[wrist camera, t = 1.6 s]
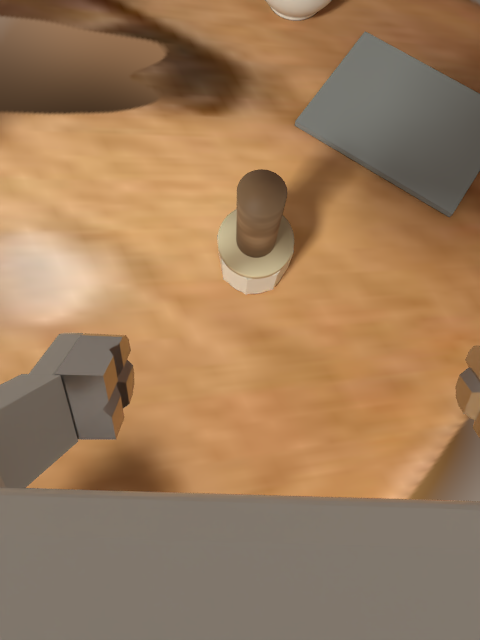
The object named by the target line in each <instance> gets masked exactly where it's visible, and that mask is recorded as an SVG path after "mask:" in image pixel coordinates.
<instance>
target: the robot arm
mask: <svg viewBox="0 0 480 640" xmlns="http://www.w3.org/2000/svg"><path fill="white" fill-rule="evenodd" d="M130 351H131V349H130V344H129V339H128V338H127V336H126V335H108V334H87V333H85V334H83V333H62V334H59V335H58V336H57V338H56V339H55V340H54V342H53V343H52V344H51V345H50V347H49V348H48V349H47V351H46V352H45V353H44V355H43V356H42V357H41V359H40V360H39V361H38V362H37V364H36V365H35V366H34V368H33V369H32V370H31V372H30V373H29V374H21V375H19V376H17V377H15V378H13V379H11V380H9V381H7V382H5V383H3V384H1V385H0V640H480V502H478V501H477V502H476V501H447V500H416V499H415V500H414V499H381V498H347V497H312V496H277V495H243V494H209V493H175V492H141V491H107V490H73V489H39V488H26V487H27V486H28V485H29V484H30V483H31V482H32V481H34V480H35V479H36V478H37V477H38V476H39V475H40V474H42V473H43V472H44V471H45V470H46V469H47V468H48V467H50V466H51V465H52V464H53V463H54V462H55V461H56V460H57V459H59V458H60V457H61V456H62V455H63V454H64V453H65V452H67V451H68V450H69V449H70V448H71V447H72V446H73V445H75V444H76V443H77V442H78V439H116V438H117V436H118V433H119V430H120V428H121V425H122V422H123V420H124V413H123V408H124V407H126V406H127V405H128V404H130V401H131V398H132V395H133V388H134V369H133V365H132V364H131V363H130V362H129V361H128V360H127V358H128V356H129V354H130ZM465 360H466V363H467V365H468V367H469V368H468V369H466V370H465V371H464V372H462V373H461V374H460V375H459V378H458V381H457V383H456V399H457V402H458V405H459V407H460V409H461V410H462V412H463V413H464V414H465V415H467V416H468V417H470V418H471V419H473V420H474V421H475V422H474V425H473V429H474V430H475V432H476V433H477V435H478V436H479V438H480V346H473V347H472V348H471V349H470V351H469V352H468V355H467V357H466V359H465Z"/></svg>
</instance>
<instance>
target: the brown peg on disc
mask: <svg viewBox="0 0 480 640" xmlns="http://www.w3.org/2000/svg"><path fill="white" fill-rule="evenodd" d="M286 198H287V187H286V185H285V182H284V181H283V179H282V178H281V177H280V176H279V175H277V174H276V173H274V172H272V171H269V170H254V171H251V172H249V173H247V174H246V175H245V176H244V177H243V178H242V179H241V180H240V182H239V184H238V187H237V209H236V210H234V211H233V212H231V213H230V214H229V215H228V216H227V217H226V218H225V219H224V221H223V222H222V224H221V226H220V229H219V232H218V249H219V253H220V256H221V258H222V260H223V262H224V263H225V265H226V266H227V267H228V268H229V269H230V270H232V271H233V272H234V273H236V274H238V275H240V276H242V277H246V278H251V279H261V278H266V277H269V276H272V275H274V274H276V273H277V272H279V271H280V270H281V269H282V268H283V267H284V266H285V265H286V264H287V262H288V261H289V259H290V257H291V254H292V251H293V247H294V234H293V230H292V228H291V225H290V224H289V222H288V220H287V219H286V218H285V217H284V216H283V215H282V214H283V210H284V206H285V202H286Z"/></svg>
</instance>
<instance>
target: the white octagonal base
mask: <svg viewBox="0 0 480 640" xmlns="http://www.w3.org/2000/svg"><path fill="white" fill-rule="evenodd" d="M217 240H218V235H217ZM218 251H219V249H218ZM293 253H294V250H293V251H292V254H291V257H290V259H289V261H288V262H287V264H286V265H285V266H284V267H283V268H282V269H281V270H280V271H279V272H277V273H276V274H274V275H272V276H269V277H266V278H261V279H251V278H246V277H242V276H240V275H238V274H236V273H234V272H233V271H232V270H230V269H229V268H228V267H227V266H226V265H225V263H224V262H223V260H222V258H221V256H220V253H219V258H220V263H221V270H222V274H223V280H225V281H227V282H228V283H229V284H230V285H231V286H232V287H233V288H234V289H236V290H238V291H240V292H243V293H245V294H260V293H264V292H266V291H268V290H273V289H274V287H275V286H276V285H277V283H278V282H279V281H280V279H281V278H282V276H283V274H284V273H285V272H286V270H287V269H288V266H289V263H290V261H291V258H292V255H293Z"/></svg>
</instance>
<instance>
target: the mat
mask: <svg viewBox="0 0 480 640" xmlns="http://www.w3.org/2000/svg"><path fill="white" fill-rule="evenodd" d="M295 126H296V127H298V128H300V129H301V130H303V131H305V132H307V133H308V134H310V135H312V136H313V137H315V138H317V139H318V140H320V141H322V142H323V143H325V144H327V145H328V146H330V147H332V148H333V149H335V150H337V151H339V152H340V153H342V154H344V155H345V156H347V157H349V158H350V159H352V160H354V161H355V162H357V163H359V164H360V165H362V166H364V167H365V168H367V169H369V170H371V171H372V172H374V173H376V174H377V175H379V176H381V177H382V178H384V179H386V180H387V181H389V182H391V183H392V184H394V185H396V186H397V187H399V188H401V189H403V190H404V191H406V192H408V193H409V194H411V195H413V196H414V197H416V198H418V199H419V200H421V201H423V202H424V203H426V204H428V205H430V206H431V207H433V208H435V209H436V210H438V211H440V212H441V213H443V214H445V215H446V216H448V217H450V216H451V215H452V214H453V213H454V211H455V209H456V208H457V206H458V205H459V203H460V201H461V200H462V198H463V197H464V195H465V193H466V192H467V190H468V188H469V187H470V185H471V184H472V182H473V180H474V179H475V177H476V176H477V174H478V172H479V171H480V94H479V93H477V92H475V91H473V90H472V89H470V88H468V87H466V86H464V85H462V84H461V83H459V82H457V81H455V80H453V79H451V78H450V77H448V76H446V75H444V74H442V73H440V72H439V71H437V70H435V69H433V68H431V67H429V66H428V65H426V64H424V63H422V62H420V61H418V60H417V59H415V58H413V57H411V56H409V55H407V54H406V53H404V52H402V51H400V50H398V49H396V48H395V47H393V46H391V45H389V44H387V43H385V42H384V41H382V40H380V39H378V38H376V37H374V36H373V35H371V34H369V33H367V32H364V33H363V35H362V36H361V37H360V39H359V40H358V41H357V43H356V44H355V45H354V46H353V48H352V49H351V50H350V52H349V53H348V54H347V55H346V57H345V58H344V59H343V61H342V62H341V63H340V64H339V66H338V67H337V68H336V70H335V71H334V72H333V73H332V75H331V76H330V77H329V79H328V80H327V81H326V82H325V84H324V85H323V86H322V88H321V89H320V90H319V92H318V93H317V94H316V95H315V97H314V98H313V99H312V101H311V102H310V103H309V104H308V106H307V107H306V108H305V110H304V111H303V112H302V113H301V115H300V116H299V117H298V119H297V120H296V121H295Z"/></svg>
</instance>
